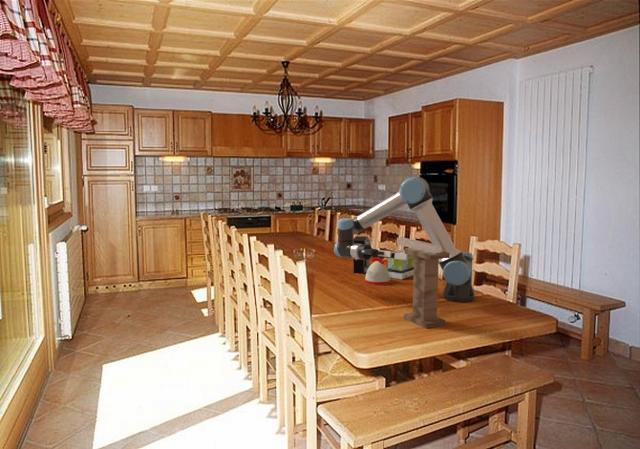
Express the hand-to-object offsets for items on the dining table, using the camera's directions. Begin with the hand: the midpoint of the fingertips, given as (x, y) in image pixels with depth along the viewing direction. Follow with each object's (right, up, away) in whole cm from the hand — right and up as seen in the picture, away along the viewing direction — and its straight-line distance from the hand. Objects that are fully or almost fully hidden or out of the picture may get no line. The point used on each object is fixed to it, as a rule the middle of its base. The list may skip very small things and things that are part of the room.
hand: (398, 255), depth 221 cm
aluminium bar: (+5, +4, -18) cm, 19 cm away
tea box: (+11, -16, +63) cm, 67 cm away
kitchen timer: (-4, -18, +49) cm, 52 cm away
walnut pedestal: (+7, -26, -19) cm, 33 cm away
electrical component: (-11, -14, +78) cm, 80 cm away
